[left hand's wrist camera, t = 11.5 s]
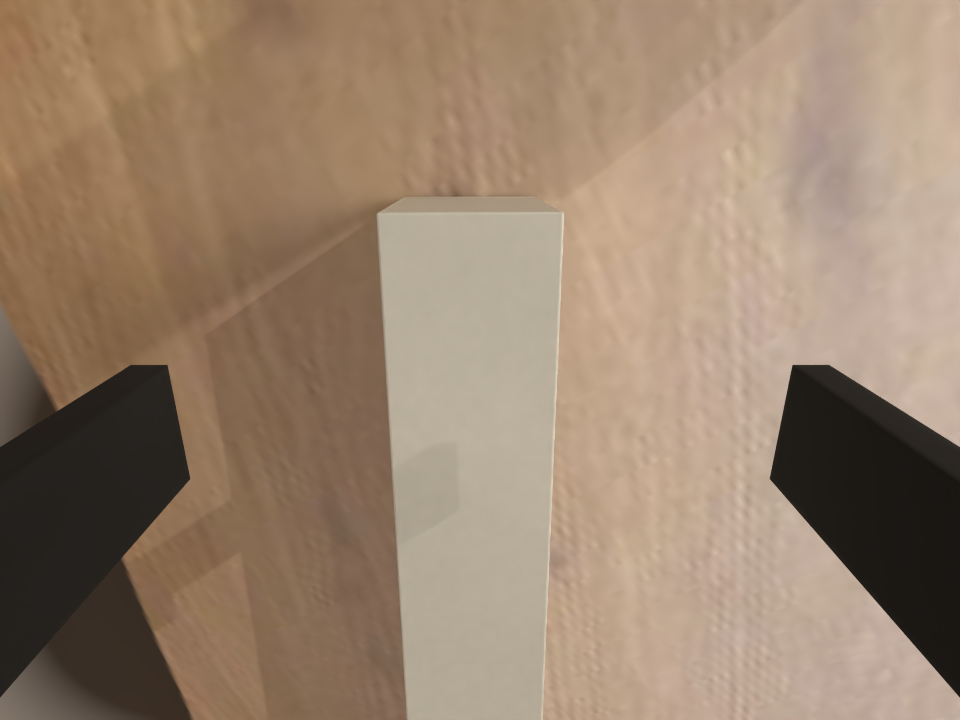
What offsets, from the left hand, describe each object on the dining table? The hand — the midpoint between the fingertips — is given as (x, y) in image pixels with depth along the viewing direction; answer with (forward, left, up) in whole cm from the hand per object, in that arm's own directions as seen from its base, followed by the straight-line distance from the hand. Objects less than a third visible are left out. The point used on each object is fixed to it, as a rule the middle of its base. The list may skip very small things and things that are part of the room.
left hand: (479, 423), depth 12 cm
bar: (+27, 0, -14) cm, 30 cm away
